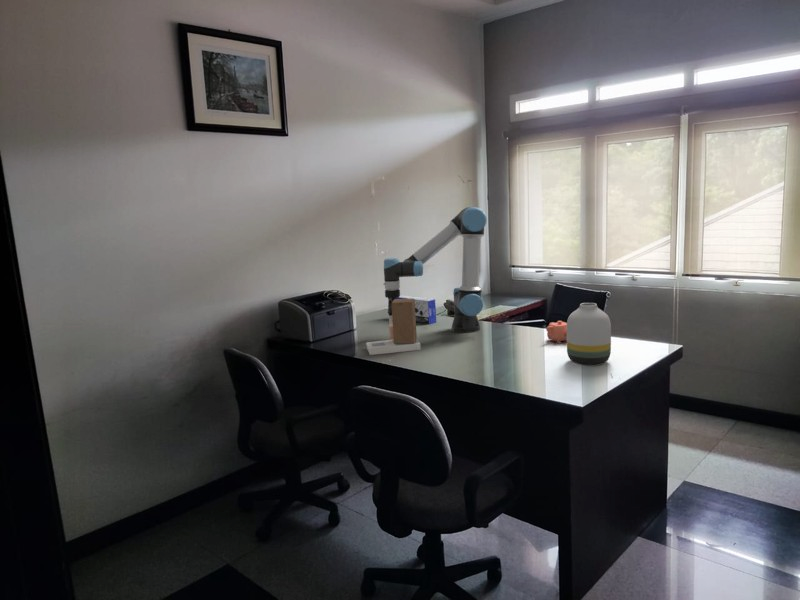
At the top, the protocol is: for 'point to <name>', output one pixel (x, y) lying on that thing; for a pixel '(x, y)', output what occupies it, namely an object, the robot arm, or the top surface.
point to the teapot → (557, 331)
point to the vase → (588, 335)
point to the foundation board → (390, 347)
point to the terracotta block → (391, 331)
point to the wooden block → (404, 321)
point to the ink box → (423, 309)
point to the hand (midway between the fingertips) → (394, 330)
